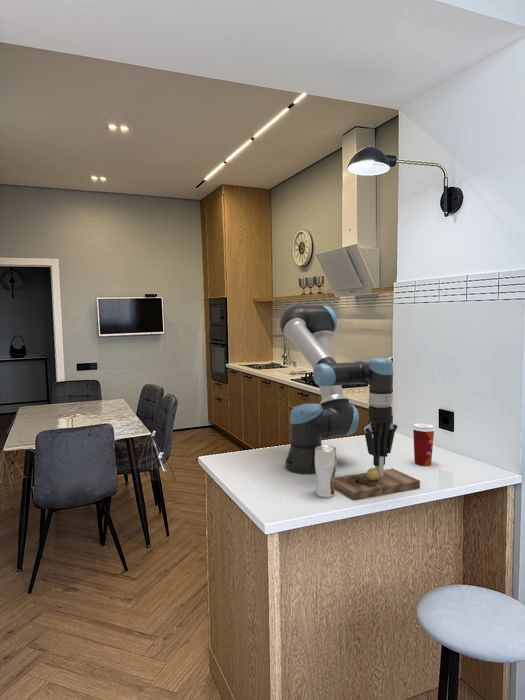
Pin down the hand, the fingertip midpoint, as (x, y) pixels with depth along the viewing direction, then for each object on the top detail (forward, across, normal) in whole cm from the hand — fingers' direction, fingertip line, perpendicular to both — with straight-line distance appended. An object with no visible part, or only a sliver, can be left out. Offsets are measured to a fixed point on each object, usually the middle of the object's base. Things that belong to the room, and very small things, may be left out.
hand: (379, 474), depth 164 cm
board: (+4, -2, 0) cm, 4 cm away
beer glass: (+4, -20, +1) cm, 21 cm away
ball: (-1, -3, 0) cm, 3 cm away
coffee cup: (+4, +31, +13) cm, 33 cm away
